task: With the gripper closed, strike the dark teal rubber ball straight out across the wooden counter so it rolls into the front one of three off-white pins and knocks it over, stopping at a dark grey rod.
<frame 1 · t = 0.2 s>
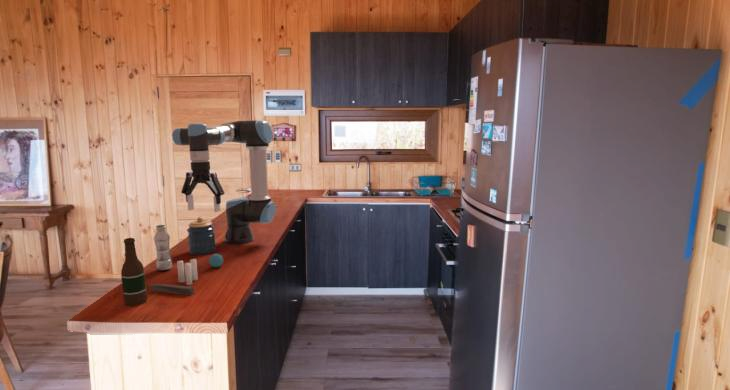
hand: (204, 210, 189), 27 cm above the countertop, tool pointing down, fingers open, 13 cm apart
dark grey rod: (172, 292, 171), on the countertop
plastic bottle: (164, 270, 197), on the countertop
canister: (202, 251, 224), on the countertop
back pin 2: (189, 284, 179), on the countertop
beer bottle: (136, 302, 162), on the countertop
back pin 1: (181, 281, 183), on the countertop
front pin: (194, 279, 184), on the countertop
ball: (216, 260, 199), on the countertop
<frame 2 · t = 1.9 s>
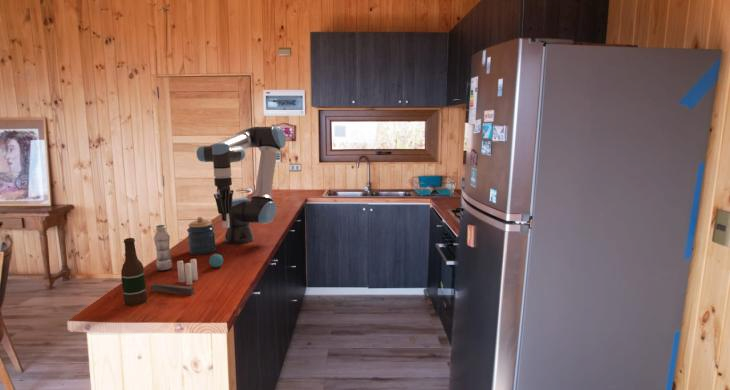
hand: (226, 227, 206), 16 cm above the countertop, tool pointing down, fingers closed
nothing on the countertop moved.
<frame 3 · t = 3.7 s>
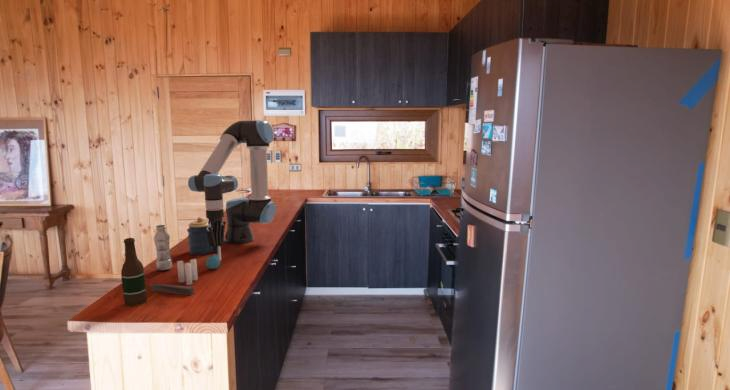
hand: (217, 260, 200), 3 cm above the countertop, tool pointing down, fingers closed
ball: (213, 262, 197), on the countertop
everything else where it was.
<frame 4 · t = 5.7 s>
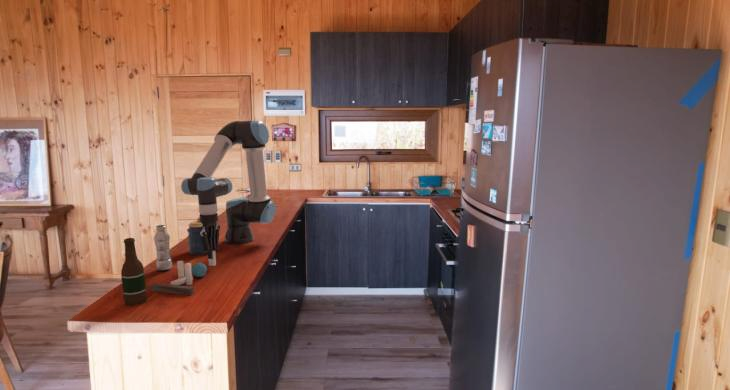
hand: (212, 265, 197), 2 cm above the countertop, tool pointing down, fingers closed
front pin: (191, 277, 183), point 1 cm above the countertop, tilted 90°
ball: (199, 269, 187), on the countertop
everything else where it was.
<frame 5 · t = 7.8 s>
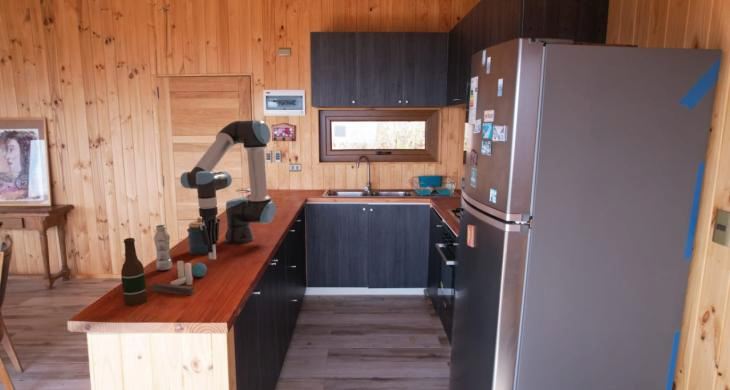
hand: (212, 258, 197), 5 cm above the countertop, tool pointing down, fingers closed
nothing on the countertop moved.
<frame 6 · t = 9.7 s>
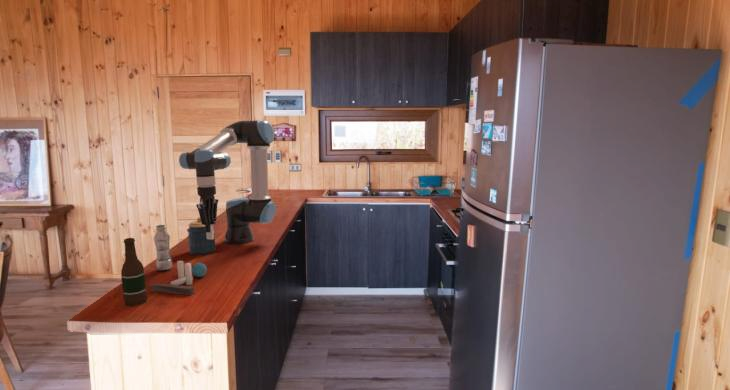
hand: (210, 238, 194), 14 cm above the countertop, tool pointing down, fingers closed
nothing on the countertop moved.
at the end: front pin tilted 90°; front pin never touched the robot; ball moved 12.7 cm from its start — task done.
